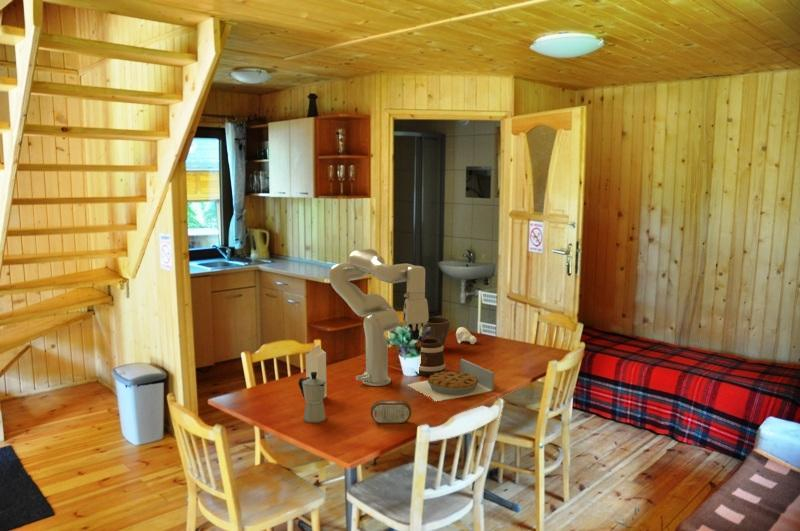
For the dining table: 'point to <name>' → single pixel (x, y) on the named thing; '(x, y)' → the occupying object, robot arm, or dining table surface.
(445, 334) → the plant pot
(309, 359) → the milk
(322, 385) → the coffee maker
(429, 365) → the mug
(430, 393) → the grey l-shaped tray
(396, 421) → the tin
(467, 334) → the cream rounded lump
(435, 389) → the pie
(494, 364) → the dining table surface
